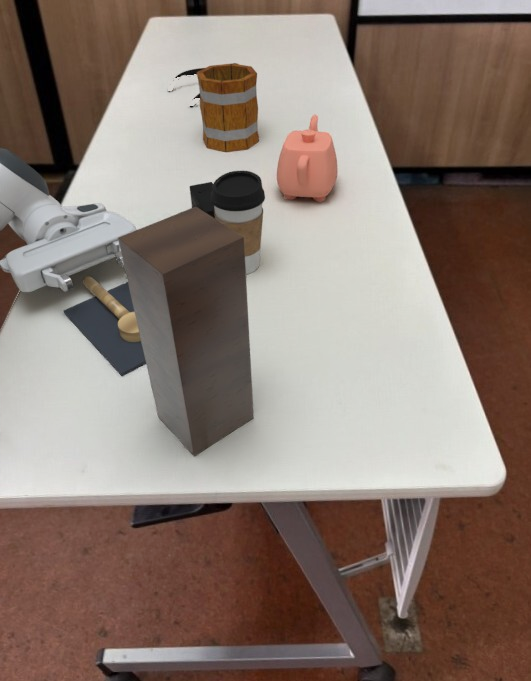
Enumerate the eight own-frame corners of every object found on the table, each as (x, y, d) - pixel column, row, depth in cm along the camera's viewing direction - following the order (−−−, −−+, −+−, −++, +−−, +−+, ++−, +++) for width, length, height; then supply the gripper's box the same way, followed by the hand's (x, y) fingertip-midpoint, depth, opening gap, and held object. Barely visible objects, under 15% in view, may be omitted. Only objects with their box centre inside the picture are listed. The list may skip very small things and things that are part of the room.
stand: (157, 417, 71) (117, 237, 54) (216, 382, 76) (195, 206, 58) (194, 456, 67) (162, 274, 49) (254, 418, 71) (244, 237, 54)
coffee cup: (275, 257, 98) (273, 174, 88) (253, 284, 92) (249, 199, 82) (231, 246, 100) (225, 165, 90) (207, 272, 95) (198, 189, 85)
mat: (63, 313, 87) (63, 310, 87) (132, 282, 93) (131, 279, 93) (121, 376, 77) (121, 373, 77) (195, 337, 83) (195, 334, 82)
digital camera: (187, 220, 107) (182, 186, 103) (214, 215, 109) (211, 180, 104) (202, 248, 100) (198, 213, 95) (231, 242, 101) (229, 206, 97)
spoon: (73, 290, 91) (71, 280, 90) (101, 278, 93) (98, 269, 92) (130, 347, 81) (128, 337, 79) (159, 332, 83) (157, 322, 82)
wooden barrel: (255, 153, 129) (252, 83, 119) (196, 151, 131) (189, 82, 121) (266, 120, 144) (265, 55, 134) (213, 118, 145) (208, 55, 135)
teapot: (331, 215, 108) (335, 153, 100) (269, 211, 109) (268, 150, 101) (340, 168, 122) (344, 112, 114) (285, 165, 124) (285, 109, 116)
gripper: (-13, 242, 86) (23, 283, 78) (109, 199, 95) (152, 231, 87) (1, 277, 90) (37, 319, 82) (116, 232, 100) (158, 265, 92)
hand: (97, 273), depth 85 cm, fingers open, 8 cm apart
